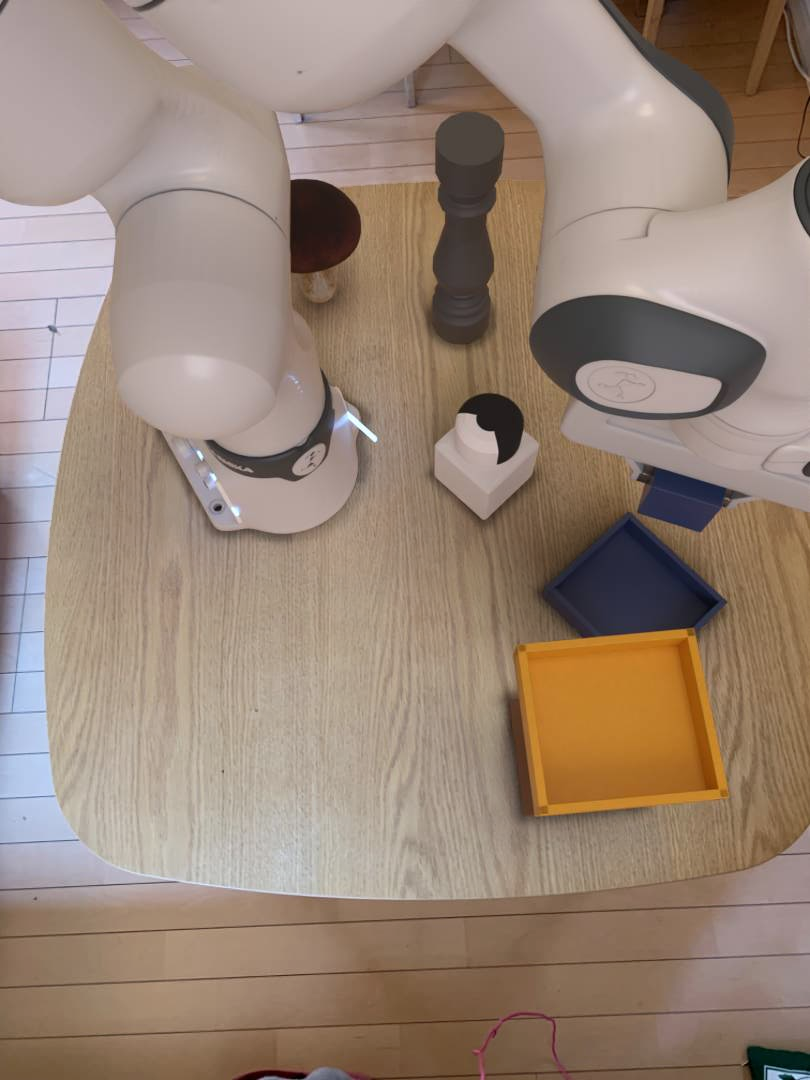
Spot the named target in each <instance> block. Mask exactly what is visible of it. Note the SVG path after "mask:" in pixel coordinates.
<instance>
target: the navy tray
mask: <svg viewBox="0 0 810 1080" xmlns="http://www.w3.org/2000/svg"><path fill="white" fill-rule="evenodd" d="M541 597H542V598H543V599H544V600H545V601H546V602H547V603H548V604H549V605H550V606H551V607H552V608H553V609H554V610H555V611H556V612H557V613H558V614H559V615H560V616H561V617H562V618H563V619H564V620H565V621H566V622H567V623H568V624H569V625H570V626H571V627H572V628H573V629H574V630H575V631H576V632H578V634H579V635H580V636H581V637H582V638H591V637H602V636H613V635H623V634H634V633H645V632H656V631H667V630H677V629H688V628H694V630H695V635H696V634H698V632H699V631H701V629H703V628H704V626H706V625H707V624H708V623H709V622H710V621H711V620H712V619H713V618H714V617H715V616H716V615H717V614H718V613H719V612H720V611H721V610H722V609H723V608H724V607H725V606H726V605H727V604H728V602H729V601H728V600H727V599H726V598H724V597H723V595H721V594H720V593H719V592H718V591H717V590H716V589H715V588H713V587H712V585H710V584H709V583H708V582H707V581H706V580H705V579H704V578H702V576H700V575H699V574H698V573H697V572H696V571H695V570H694V569H693V568H692V567H691V566H689V564H687V562H685V561H684V560H683V559H682V558H681V557H680V556H679V555H678V554H676V552H674V551H673V550H672V549H671V548H670V547H669V546H668V545H667V544H666V543H665V542H664V541H662V540H661V539H660V538H659V536H657V535H656V534H654V532H653V531H652V530H650V529H649V528H648V527H647V526H646V525H645V524H644V523H643V522H642V521H640V519H639V518H637V517H636V515H634V514H633V513H632V512H631V511H630V510H628V511H627V512H626V513H625V514H624V515H622V516H621V517H620V518H619V519H618V520H617V521H616V522H615V523H614V524H613V525H612V526H611V527H609V528H608V529H607V530H606V531H605V532H604V533H603V534H602V535H601V536H599V537H598V538H597V539H596V540H595V541H594V542H593V543H592V544H591V545H590V546H589V547H588V548H586V550H584V551H583V552H582V553H581V554H580V555H579V556H578V557H577V558H576V559H574V560H573V561H572V562H571V563H570V564H568V565H567V567H566V568H564V569H563V570H562V571H561V572H560V573H559V574H558V575H557V576H555V578H553V579H552V580H551V581H550V582H549V583H548V584H547V585H546V586H545V588H544V590H543V592H542V594H541Z"/></svg>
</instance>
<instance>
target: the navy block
mask: <svg viewBox="0 0 810 1080" xmlns="http://www.w3.org/2000/svg"><path fill="white" fill-rule="evenodd" d="M642 489H643V490H642V492H641V494H640V495H641V496H640V499H639V503H638V506H637V509H636V514H638V515H642V516H645V517H648V518H651V519H655V520H658V521H661V522H664V523H668V524H671V525H675V526H678V527H681V528H684V529H688V530H689V531H690V530H691V531H694V532H697V533H702V532H703V530H705V528H706V527H707V526H708V525H709V523H711V521H712V520H713V519H714V518H715V517H716V515H717V514H718V513H719V512H720V510H721V509H722V508H723V507H722V505H723V501H724V497H725V493H726V489H727V488H724V487H721V486H718V485H714V484H711V483H708V482H704V481H701V480H698V479H694V478H691V477H688V476H684V475H681V474H678V473H674V472H671V471H668V470H664V469H661V468H658V467H655V468H654V472H653V475H652V478H651V479H650V481H649V483H648V484H646V483H644V485H643V488H642Z"/></svg>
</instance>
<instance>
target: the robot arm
mask: <svg viewBox="0 0 810 1080" xmlns="http://www.w3.org/2000/svg"><path fill="white" fill-rule="evenodd" d="M122 1H123V3H125V4H126V5H127V6H128V7H130V8H131V9H132V10H133V11H134V13H136V14H137V15H138V16H139V17H141V18H142V19H143V20H144V21H145V23H147V24H149V25H150V26H151V27H152V28H153V29H154V30H155V31H156V32H157V33H158V34H160V36H161V37H163V38H164V39H165V40H166V41H167V42H168V43H169V44H171V46H173V47H174V48H175V49H176V50H178V52H180V53H181V54H182V55H183V56H184V57H186V59H188V60H189V61H190V62H192V64H187V65H182V66H181V65H180V66H176V65H175V64H173V63H172V62H170V61H168V60H167V59H165V57H163V56H161V55H159V54H158V53H157V52H156V51H154V50H153V49H151V48H150V47H149V46H148V45H147V44H146V43H145V42H144V41H142V39H140V38H139V37H138V36H136V34H135V33H133V32H132V31H131V30H130V29H129V28H128V27H127V26H126V25H125V24H124V22H123V21H122V20H121V19H120V18H119V17H118V16H117V15H116V14H115V13H114V11H113V10H112V9H111V7H109V6H108V5H107V4H106V3H105V1H104V0H0V199H1V200H3V201H5V202H8V203H11V204H15V205H20V206H27V207H44V208H45V207H48V208H49V207H59V206H63V205H64V206H65V205H68V204H71V203H74V202H77V201H80V200H82V199H83V198H85V197H87V196H91V197H92V198H93V199H95V200H96V201H97V202H98V203H100V205H101V206H102V207H103V208H104V210H105V211H106V213H107V214H108V216H109V219H110V220H111V222H112V225H113V228H114V238H115V244H114V255H113V264H112V276H111V286H110V296H109V306H108V317H107V318H108V319H107V320H108V321H107V322H108V333H109V342H110V350H111V358H112V363H113V369H114V370H113V371H114V376H115V383H116V389H117V393H118V395H119V398H120V399H121V401H122V403H124V405H125V406H126V407H127V408H128V409H129V410H130V411H131V412H132V413H133V414H134V415H135V416H137V417H138V418H139V419H141V421H143V422H145V423H146V424H147V425H149V426H151V427H153V428H155V429H157V430H159V431H160V432H161V435H162V436H163V438H164V439H165V441H166V443H167V445H168V447H169V449H170V450H171V452H172V454H173V456H174V457H175V459H176V462H177V463H178V465H179V466H180V468H181V471H182V472H183V474H184V476H185V477H186V479H187V481H188V483H189V485H190V486H191V488H192V490H193V492H194V494H195V495H196V497H197V500H199V502H200V504H201V506H202V508H203V510H204V511H205V513H206V515H207V517H208V519H209V520H210V522H211V524H212V525H213V527H214V528H215V529H216V530H218V531H221V532H232V531H233V532H234V531H240V530H244V529H245V530H246V529H247V530H249V529H250V530H256V531H260V532H264V533H268V534H277V535H278V534H280V535H287V534H288V535H290V534H297V533H301V532H304V531H309V530H311V529H314V528H316V527H318V526H320V525H322V524H324V523H325V522H327V521H329V520H330V519H331V518H332V517H334V516H335V515H336V514H337V513H338V512H339V511H340V510H341V509H342V508H343V507H344V506H345V504H346V503H347V501H348V500H349V498H350V497H351V495H352V492H353V491H354V488H355V486H356V483H357V478H358V474H359V456H358V450H357V438H358V435H359V432H360V430H361V431H362V432H363V433H364V434H365V435H366V436H367V437H369V438H370V440H372V441H373V442H374V443H376V442H377V441H378V438H377V436H376V435H375V434H374V433H372V431H370V430H369V429H368V428H367V427H366V426H365V425H364V424H363V423H362V415H361V413H360V410H359V409H358V408H357V407H356V406H355V405H353V404H351V403H349V402H348V401H347V400H345V399H344V396H343V393H342V391H341V389H340V388H339V387H338V386H333V385H332V384H331V383H330V382H329V380H328V378H327V376H326V374H325V372H324V370H323V368H321V366H320V362H319V358H318V353H317V349H316V345H315V341H314V337H313V333H312V330H311V328H310V327H309V324H308V323H307V321H306V320H305V319H304V317H303V316H302V315H301V314H300V313H299V311H297V310H296V309H294V308H293V298H292V297H293V296H292V295H293V294H292V273H291V252H290V190H291V180H292V179H291V170H290V164H289V160H288V155H287V149H286V146H285V142H284V138H283V133H282V130H281V127H280V123H279V118H278V114H277V112H278V113H283V114H292V115H313V114H326V113H332V112H337V111H343V110H345V109H348V108H352V107H355V106H358V105H360V104H363V103H365V102H367V101H369V100H371V99H373V98H375V97H377V96H379V95H380V94H382V93H385V92H386V91H387V90H389V89H390V88H391V87H393V86H395V85H397V84H398V83H400V82H402V81H403V80H404V79H405V78H407V77H408V76H409V75H410V74H412V73H413V72H414V71H416V70H417V69H419V68H420V67H421V66H422V65H423V64H425V63H426V62H427V61H428V60H429V59H430V58H432V57H433V56H434V55H435V54H436V53H437V52H438V51H440V49H441V48H442V47H444V46H445V44H447V45H448V46H450V47H452V48H453V49H454V50H455V51H457V53H459V54H460V55H461V56H462V57H463V58H464V59H465V60H466V61H467V62H468V63H469V64H470V65H471V66H472V67H473V68H475V69H476V70H477V71H478V72H479V73H480V74H481V75H482V76H483V77H484V78H485V79H486V80H487V81H488V82H489V83H490V84H491V85H492V86H493V87H495V88H496V90H498V91H499V92H500V93H501V94H502V95H503V96H504V97H505V98H506V99H507V100H509V102H510V103H511V104H512V105H514V106H515V107H516V109H518V110H519V111H520V112H522V114H523V115H524V116H525V117H526V118H528V119H529V121H530V122H531V123H532V125H533V126H534V129H535V131H536V134H537V136H538V139H539V142H540V143H539V144H540V149H541V155H542V162H543V171H544V201H543V208H542V209H543V211H542V221H541V230H540V238H539V248H538V257H537V258H538V259H537V260H538V261H537V265H536V266H535V279H534V286H533V296H532V306H531V307H532V308H531V318H530V319H531V321H530V331H529V336H528V344H529V345H528V346H529V350H530V352H531V355H532V357H533V359H534V360H535V362H536V363H537V365H538V366H539V368H540V369H541V371H543V373H544V374H545V375H546V376H547V377H548V378H549V379H550V380H551V382H552V383H554V384H555V385H556V386H558V387H559V389H561V390H562V391H563V392H565V393H567V394H568V395H569V397H568V400H567V403H566V405H565V407H564V411H563V414H562V418H561V421H560V424H559V427H558V428H559V432H561V434H562V436H564V437H565V438H566V440H567V441H569V442H572V443H574V444H578V445H581V446H584V447H588V448H591V449H595V450H598V451H601V452H604V453H607V454H612V455H614V456H618V457H622V458H623V459H624V461H625V462H626V464H627V465H628V467H629V468H630V470H631V471H630V475H629V480H632V481H636V482H639V483H643V484H645V483H646V484H648V483H649V481H650V479H651V478H652V475H653V472H654V468H655V467H658V468H661V469H664V470H668V471H671V472H674V473H678V474H681V475H684V476H688V477H691V478H694V479H698V480H701V481H704V482H708V483H711V484H714V485H718V486H721V487H724V488H727V489H726V493H725V497H724V501H723V505H722V508H725V509H727V510H732V511H733V510H734V509H735V507H736V506H738V505H739V504H744V503H751V502H757V501H763V500H764V501H768V502H772V503H775V504H778V505H781V506H785V507H787V508H792V509H795V510H798V511H801V512H805V513H808V514H810V155H807V157H805V158H804V159H802V160H800V161H799V162H798V163H797V164H796V165H795V166H794V167H792V168H791V169H790V170H788V171H787V172H786V173H785V174H783V175H782V176H781V177H779V178H777V179H775V180H774V181H773V182H770V183H769V184H767V185H764V186H763V187H761V188H759V189H756V190H754V191H751V192H749V193H746V194H744V195H742V196H739V197H737V198H734V199H731V200H728V190H729V184H730V181H731V180H730V179H731V171H732V162H733V153H734V145H735V123H734V118H733V114H732V111H731V110H730V107H729V105H728V103H727V101H726V99H725V97H724V96H723V94H722V93H721V92H720V91H719V90H718V88H717V87H716V86H715V85H713V84H712V83H711V82H710V80H708V79H707V78H706V77H704V76H703V75H702V74H700V73H699V72H698V71H696V70H695V69H693V68H692V67H690V66H688V65H687V64H685V63H683V62H681V61H680V60H678V59H676V58H675V57H673V56H671V55H669V54H668V53H666V52H665V51H663V50H662V49H661V48H658V47H657V46H656V45H654V44H653V43H652V42H651V41H649V40H648V39H647V38H645V37H644V36H643V35H642V34H641V33H640V32H639V31H638V30H637V29H636V28H635V27H634V25H632V24H631V22H630V21H628V19H627V18H626V17H625V15H624V14H623V13H622V12H621V10H620V9H619V8H618V7H617V5H616V4H615V3H614V2H613V1H612V0H122ZM218 507H221V509H219V510H216V508H218Z"/></svg>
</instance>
